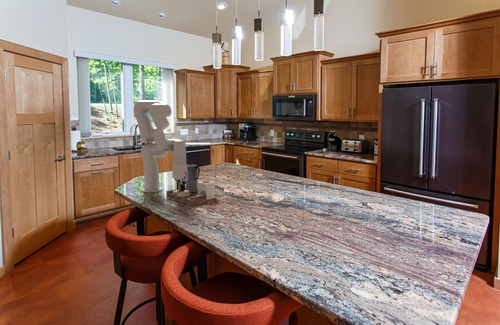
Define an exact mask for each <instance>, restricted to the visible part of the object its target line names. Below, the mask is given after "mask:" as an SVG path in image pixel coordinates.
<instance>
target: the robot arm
mask: <svg viewBox="0 0 500 325" xmlns="http://www.w3.org/2000/svg"><path fill="white" fill-rule="evenodd" d="M132 111H133V115H134V118H135V119H136V122H137V126H138V131H139V135H140V139H141V141H142V142H144V143H148V144H144V145H143V146H142V147H141V150H140V153H141V156H142V161H143V162H142V164H143V176H144V179H143V180H144V184H143V186H144V188H142V192H143V193H151V194H152V193H158V192H161V191H162V190H163V187H161V186H160V170H159V168H160V167H159V163H158V161H157V159H156V158H163V157H166V156H167V155H168V153H169V152H172V158H173V160H172V161H173V163H172V169H171V172H172V173H171V176H172V179H174V180H175V181H174V182H175V184H176V189H177V190H179V189H178V181H181V185H180V189H181V191H184V190H186V182H187V181H188V170H187V165H188V164H187V148H186V145H187V144H186V143H187V142H186V141H185V140H184V139H178V138H167V139H166V136H165V132H164V130H167V128H169V126H170V121H169V119H168V118H169V117H170V116H171V115H172V108H171V106H170V105H169V104H168V103H166V102H163V101H159V100H138V101H136V102H135V103H134V104H133V110H132ZM147 114H149V115H150V117H151V119H150V118H149V116H148V115H147ZM167 117H168V118H167ZM152 122H153V124H154V127H153V125H152ZM153 142H154V143H153Z"/></svg>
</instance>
